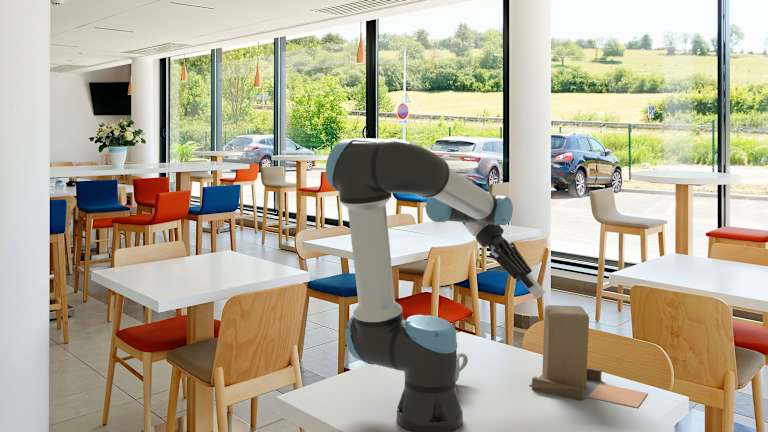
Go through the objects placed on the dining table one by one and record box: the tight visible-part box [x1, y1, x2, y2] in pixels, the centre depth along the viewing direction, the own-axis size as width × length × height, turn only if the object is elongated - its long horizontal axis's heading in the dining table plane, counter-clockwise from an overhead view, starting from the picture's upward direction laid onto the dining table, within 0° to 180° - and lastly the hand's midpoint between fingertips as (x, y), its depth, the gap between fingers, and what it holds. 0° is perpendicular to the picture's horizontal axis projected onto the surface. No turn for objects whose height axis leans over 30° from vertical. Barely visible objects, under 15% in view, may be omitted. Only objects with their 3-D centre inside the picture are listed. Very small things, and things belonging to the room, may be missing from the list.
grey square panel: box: [528, 374, 602, 399], centre depth 175 cm, size 13×15×1 cm
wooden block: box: [541, 304, 590, 389], centre depth 174 cm, size 10×10×20 cm
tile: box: [587, 382, 649, 409], centre depth 168 cm, size 11×12×1 cm
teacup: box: [456, 352, 469, 383], centre depth 174 cm, size 14×11×8 cm
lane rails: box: [531, 366, 603, 401], centre depth 175 cm, size 17×13×3 cm
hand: (541, 295), depth 177 cm, fingers closed
